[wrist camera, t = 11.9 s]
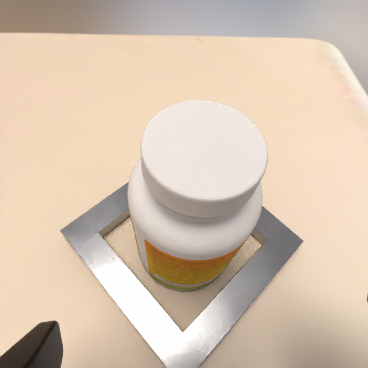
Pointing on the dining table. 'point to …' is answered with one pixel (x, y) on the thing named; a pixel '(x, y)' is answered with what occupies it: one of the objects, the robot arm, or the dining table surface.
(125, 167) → the dining table surface
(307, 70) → the dining table surface
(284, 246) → the frame
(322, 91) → the dining table surface
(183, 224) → the supplement bottle
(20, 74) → the dining table surface
